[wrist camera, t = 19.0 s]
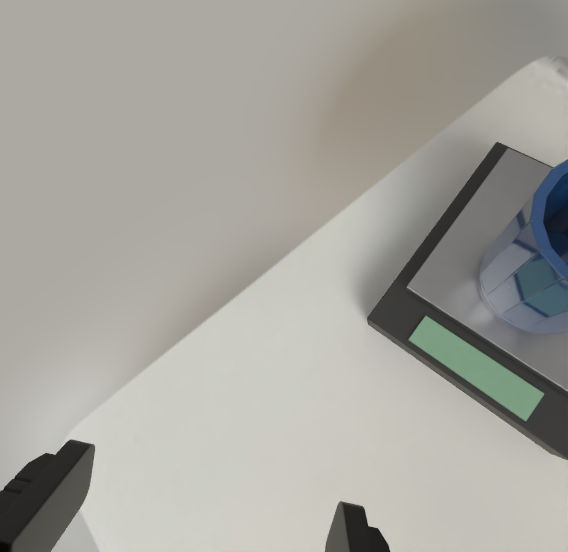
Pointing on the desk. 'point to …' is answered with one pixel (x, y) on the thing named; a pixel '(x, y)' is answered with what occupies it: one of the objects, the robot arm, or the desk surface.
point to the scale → (471, 343)
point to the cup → (532, 261)
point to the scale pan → (466, 264)
